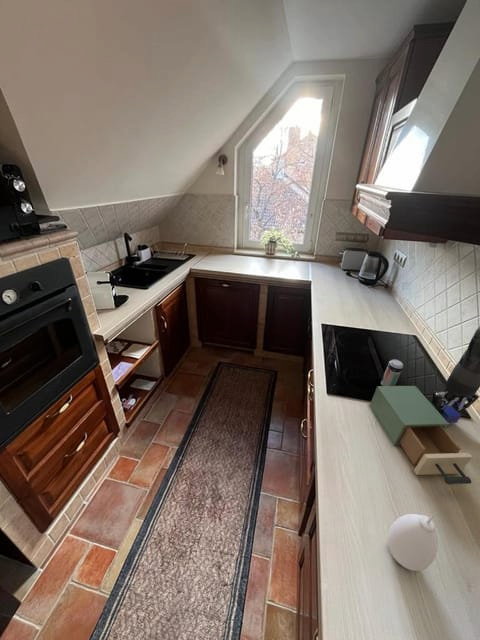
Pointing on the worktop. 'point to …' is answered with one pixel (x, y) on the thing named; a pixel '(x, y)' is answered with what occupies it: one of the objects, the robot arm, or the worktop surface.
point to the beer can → (392, 373)
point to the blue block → (450, 414)
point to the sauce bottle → (413, 541)
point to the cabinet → (403, 410)
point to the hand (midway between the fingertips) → (443, 414)
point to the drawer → (435, 453)
